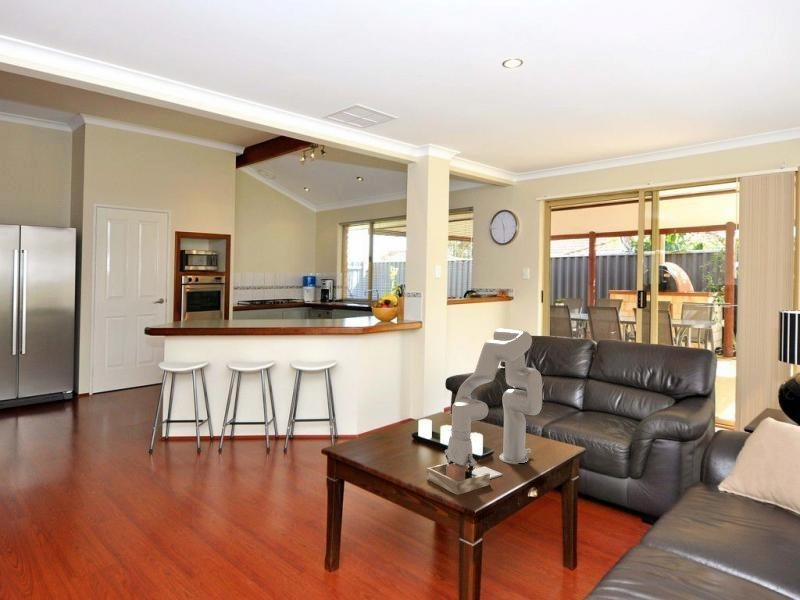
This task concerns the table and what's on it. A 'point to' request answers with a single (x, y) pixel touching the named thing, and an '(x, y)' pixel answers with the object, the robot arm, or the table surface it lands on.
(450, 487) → the birch box
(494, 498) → the table surface
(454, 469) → the terracotta cube
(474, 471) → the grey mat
